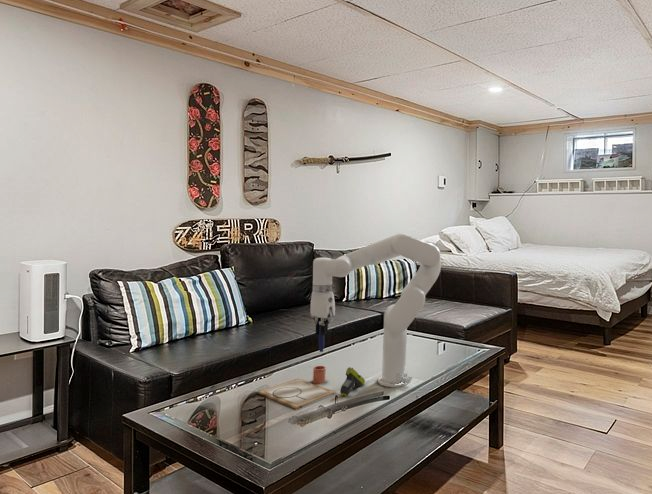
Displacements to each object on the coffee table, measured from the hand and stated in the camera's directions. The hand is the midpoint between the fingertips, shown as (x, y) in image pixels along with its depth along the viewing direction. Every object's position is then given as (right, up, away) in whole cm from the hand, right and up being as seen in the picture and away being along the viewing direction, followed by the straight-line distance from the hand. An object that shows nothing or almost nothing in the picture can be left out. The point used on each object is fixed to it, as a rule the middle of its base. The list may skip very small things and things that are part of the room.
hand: (321, 334), depth 197 cm
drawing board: (-6, -19, -12) cm, 24 cm away
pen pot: (-1, -20, 0) cm, 20 cm away
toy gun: (+14, -20, -8) cm, 26 cm away
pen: (0, -7, 0) cm, 7 cm away
